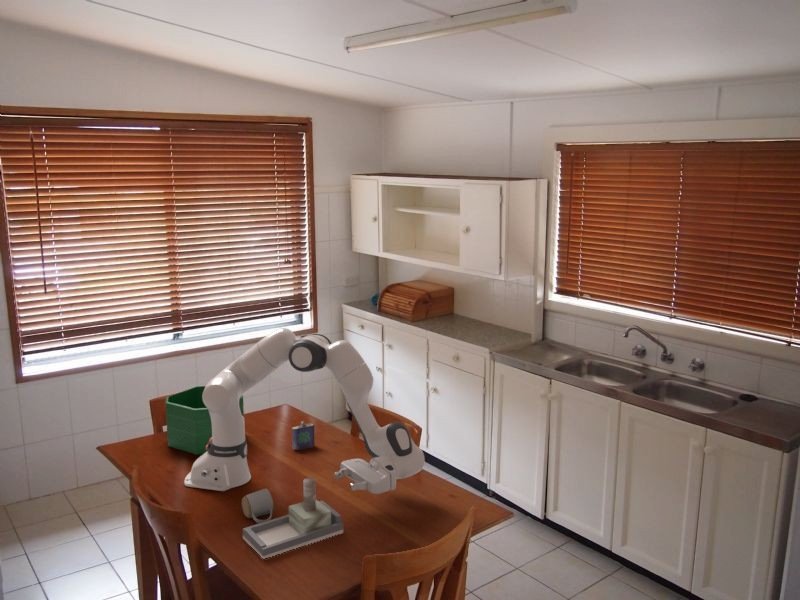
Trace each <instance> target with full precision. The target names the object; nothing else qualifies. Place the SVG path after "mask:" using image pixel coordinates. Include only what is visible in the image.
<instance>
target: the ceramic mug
mask: <svg viewBox="0 0 800 600" xmlns="http://www.w3.org/2000/svg"><path fill="white" fill-rule="evenodd" d="M271 494H272V493H271V492H270V491H269V489H268V488H262V489H259V490H257V491H255V492H252V493H248V494H246V495H244V496H243V497H242V499H241V508H242V511H243V514H244V516H245V517H246V518H248V519H252V520H254V521H255V523H256V524H259V523H263V522H266V521H269V520H272V516H273V512H274V500H273V497H272V495H271ZM268 514H269V517H268V518H267V519H258V518H257V517H261V516H265V515H268Z"/></svg>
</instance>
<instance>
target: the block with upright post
mask: <svg viewBox="0 0 800 600" xmlns="http://www.w3.org/2000/svg"><path fill="white" fill-rule="evenodd" d="M302 484H303V485H302V486H303V501H301V502H298V503H294V504H291V505H288V515H289V524H290V525H292V526H293V527H294V528H295V529H296V530H297V531H298V532H299V533H300V534H305V533H308V532H311V531H314V530H317V529H320V528H323V527H326V526H329V525H331V511H330V510H329V509H328V508H327V507H325V506H324V505H323V504H322V503H320V502H319V500H318V499H317V495H316V485H317V484H316V479H315V478H312V477H307V478H304V479H303V481H302Z"/></svg>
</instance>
